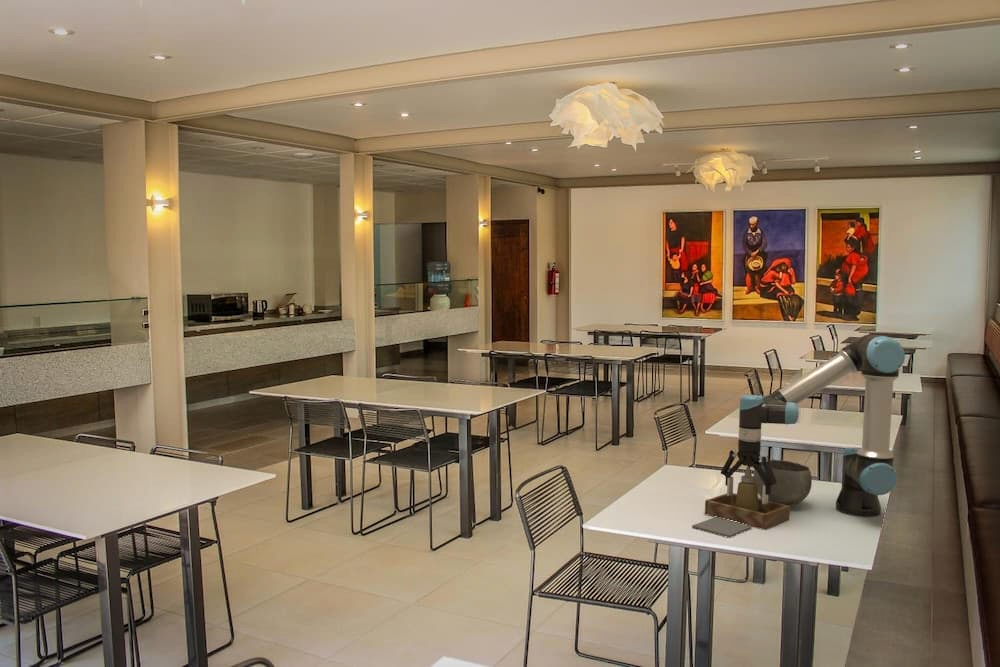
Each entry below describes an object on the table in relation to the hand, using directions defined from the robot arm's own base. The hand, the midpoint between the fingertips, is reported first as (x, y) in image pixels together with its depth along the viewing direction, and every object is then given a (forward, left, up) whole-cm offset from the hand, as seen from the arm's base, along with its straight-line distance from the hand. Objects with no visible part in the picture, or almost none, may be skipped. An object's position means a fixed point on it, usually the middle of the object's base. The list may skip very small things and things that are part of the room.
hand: (747, 499), depth 291 cm
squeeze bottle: (0, 0, -7) cm, 7 cm away
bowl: (0, -25, -7) cm, 26 cm away
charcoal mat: (-1, +18, -6) cm, 19 cm away
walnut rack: (0, 0, -6) cm, 6 cm away
